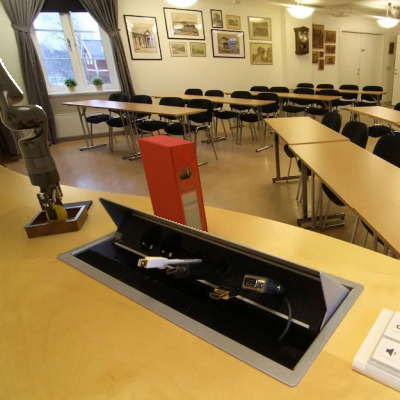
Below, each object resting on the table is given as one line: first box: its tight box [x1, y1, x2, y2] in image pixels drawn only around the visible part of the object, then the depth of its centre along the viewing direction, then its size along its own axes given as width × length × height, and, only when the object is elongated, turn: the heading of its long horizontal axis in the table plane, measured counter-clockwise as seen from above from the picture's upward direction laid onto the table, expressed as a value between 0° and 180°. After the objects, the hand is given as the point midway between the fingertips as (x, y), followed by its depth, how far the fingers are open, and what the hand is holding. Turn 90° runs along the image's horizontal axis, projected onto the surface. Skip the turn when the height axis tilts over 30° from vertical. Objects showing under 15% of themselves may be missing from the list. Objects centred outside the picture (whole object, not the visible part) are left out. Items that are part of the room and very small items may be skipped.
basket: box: [23, 205, 89, 239], centre depth 111 cm, size 14×14×4 cm
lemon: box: [46, 204, 68, 223], centre depth 110 cm, size 6×6×8 cm
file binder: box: [137, 134, 209, 233], centre depth 98 cm, size 8×17×32 cm, turn 52°
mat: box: [62, 199, 93, 212], centre depth 125 cm, size 12×10×1 cm
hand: (57, 215), depth 110 cm, fingers open, 7 cm apart
